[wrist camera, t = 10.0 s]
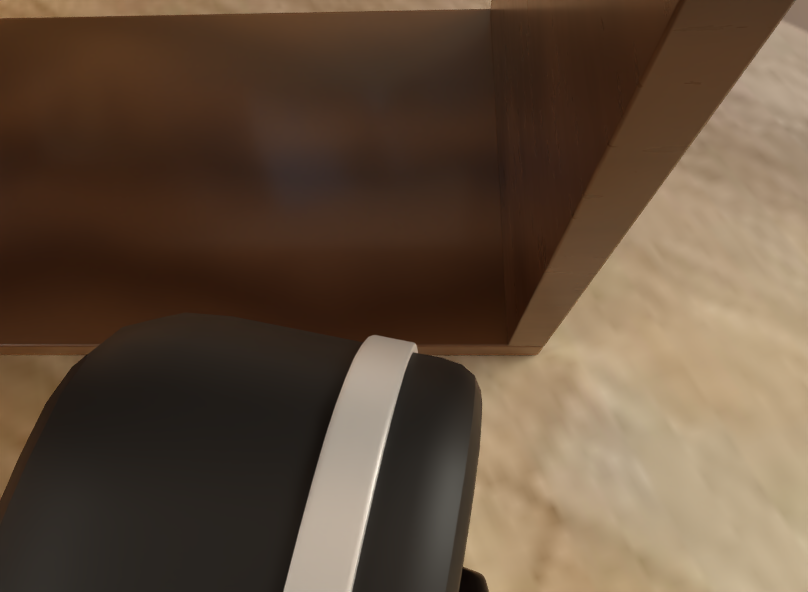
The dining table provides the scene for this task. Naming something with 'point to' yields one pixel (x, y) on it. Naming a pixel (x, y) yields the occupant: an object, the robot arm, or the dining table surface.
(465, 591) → the robot arm
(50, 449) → the black rounded piece
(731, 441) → the dining table surface
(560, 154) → the brown wooden cubby shelf
